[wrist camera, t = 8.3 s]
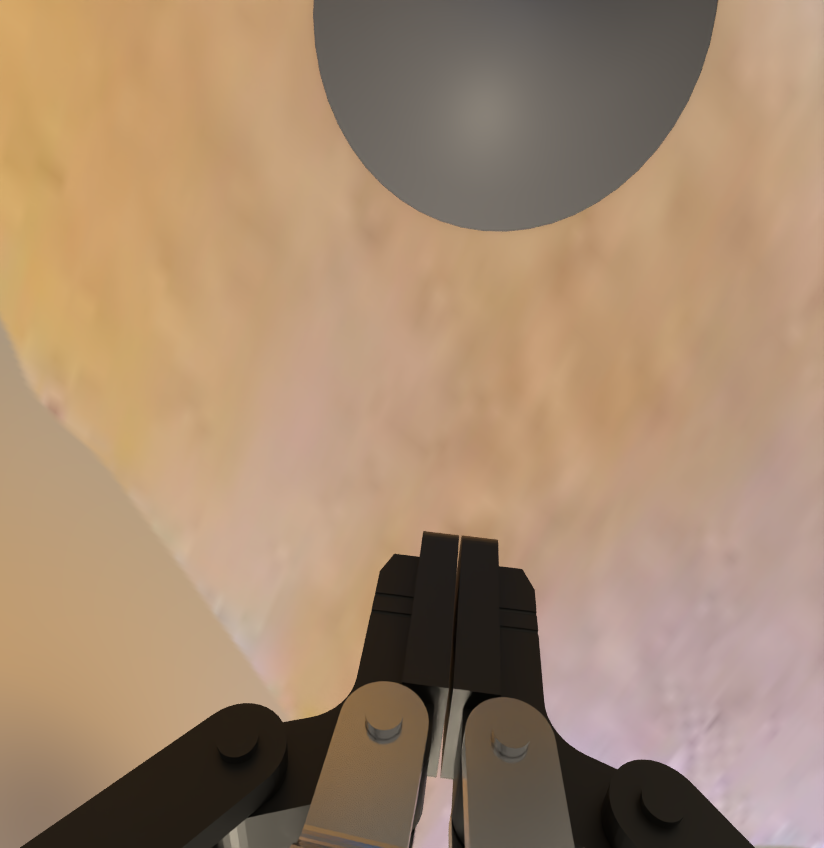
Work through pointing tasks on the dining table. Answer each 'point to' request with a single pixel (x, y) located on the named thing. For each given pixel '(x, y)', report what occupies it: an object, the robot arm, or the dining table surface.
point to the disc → (508, 97)
